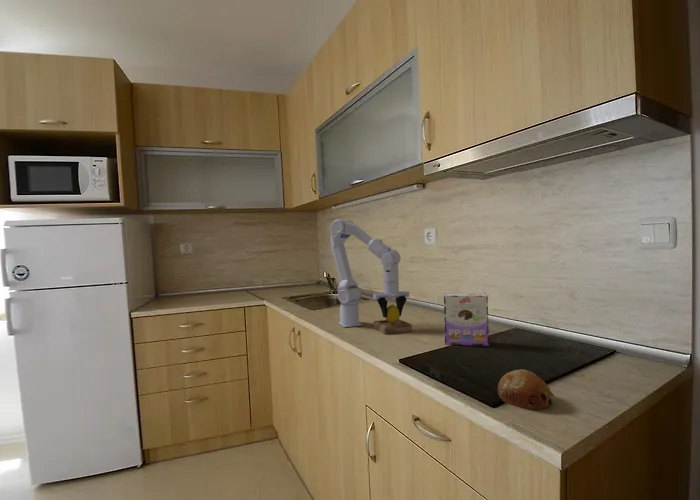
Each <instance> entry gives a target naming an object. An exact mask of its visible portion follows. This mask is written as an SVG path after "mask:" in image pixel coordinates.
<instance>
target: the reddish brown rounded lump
mask: <svg viewBox="0 0 700 500" xmlns="http://www.w3.org/2000/svg"><path fill="white" fill-rule="evenodd" d="M497 394H498V397H499V398H500V400H501V399H502V400H501V401H502V402H504V403H506V404H508V405H510V406H514V407H517V408H519V409H524V410H531V411H532V410H534V411H539V410H540V411H541V410H544V409H546V408H548V407H550V405H551V406H553V404H554V401H552V398H551V397H555V394H554V393H553V392H552V391H551V388H550V387H549V385H548V384H547V382H545V381H544V380H543V379H542V378H540V377H539V376H538V375H537V374H535V373H534V372H532V371H530V370H528V369H524V368H523V369H515V370H512V371H509V372H507V373H505V374H504V375H503V376H502V377H501V378H500V380H499V381H498V384H497Z"/></svg>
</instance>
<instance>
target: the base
mask: <svg viewBox="0 0 700 500" xmlns="http://www.w3.org/2000/svg"><path fill="white" fill-rule="evenodd" d="M412 328H413V327H412V323H410V322H407V321H405V320H402V319H400V318H399V320H398V321H397V322H396V323H394V325H392V324H391V323H389V322H388V321H387V320H386V319H383V320H381V319H380V320H374V321H373V329H375V330H376V331H377V332H380V333H382V334H384V335H392V334H401V333H411V332H412V331H413V330H412Z"/></svg>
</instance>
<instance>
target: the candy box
mask: <svg viewBox="0 0 700 500" xmlns="http://www.w3.org/2000/svg"><path fill="white" fill-rule="evenodd" d="M488 299H489V297H488V295H487V294H486V293H482V292H481V293H478V292H477V293H476V292H475V293H473V292H472V293H471V292H470V293H467V292H466V293H465V292H463V293H461V292H460V293H459V292H457V293H453V292H451V293H450V292H449V293H447V292H445V293H443V313H444V315H443V317H444V318H443V319H444V320H443V321H444V345H447V346H449V345H450V346H451V345H453V346H455V345H456V346H475V347H476V346H478V347H490V338H489V337H490V334H489V333H490V332H489V331H490V330H489V329H490V328H489V307H488V306H489V301H488Z"/></svg>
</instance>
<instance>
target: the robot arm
mask: <svg viewBox="0 0 700 500" xmlns="http://www.w3.org/2000/svg"><path fill="white" fill-rule="evenodd" d="M329 230H330V239H329V240H330V241H329V244H330V248H331V251H332V255H333V258H334V263H335V267H336V271H337V275H338V279H339V284H338V285H337V299H338V301H339V302H340V307H339V321H338V322H337V324H339V325H340V326H342V327H343V328H350V327H360V326H361V327H362V326H363V323H361V322H360V308H359V307H360V305H359V304H360V299H362V290H361V288H359V286H358V282H356V280H355V279H353V278H354V277H353V276H352V270H351V267H350V262H349V259H348V255H347V251H346V248H345V242H346V241H347V240H348V238H349V237H350V236H355V237H356V239H358V240H360V241H361V242H362V243H364V244H365V245H367V247H368V251H370V252H371V253H372V254H373V255H374V256H376V257H377V258H378V259H379V260H380V262H381V264H382V266H383V292H379V293H373V295H372V296H373V300H376V302H377V303H378V305H379V308H380V310H381V313H382V317H383V318H385V319H386V317H387V307H388V302H389V301H388V299H392V298H393V299H394V298H395V299H394V300H395V303H396V307H397V308H398V310H399V313H400V317H401V316H402V312H403V309H404V306H405V304H406V302H407V299H408V297H409V298H410V291H405V290H404V291H400V287H399V286H400V285H399V281H400V280H399V263H400V261H401V255H400V253H399V251H398V250H394V249H392V247H391V246H388V245H386V244H385V243H383V239H380V238H373V237H371V236H370V235H369V234H368V233H367V232H366V231H365V230H363V229H362V228H361V227H360V226H359V225H358V224H357V223H355V222H354V221H353V220H349V219H348V220H347V219H345V220H344V219H339V218H338V219H335V220H334V221H333V222H332V223H331V225H330V227H329Z"/></svg>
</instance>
